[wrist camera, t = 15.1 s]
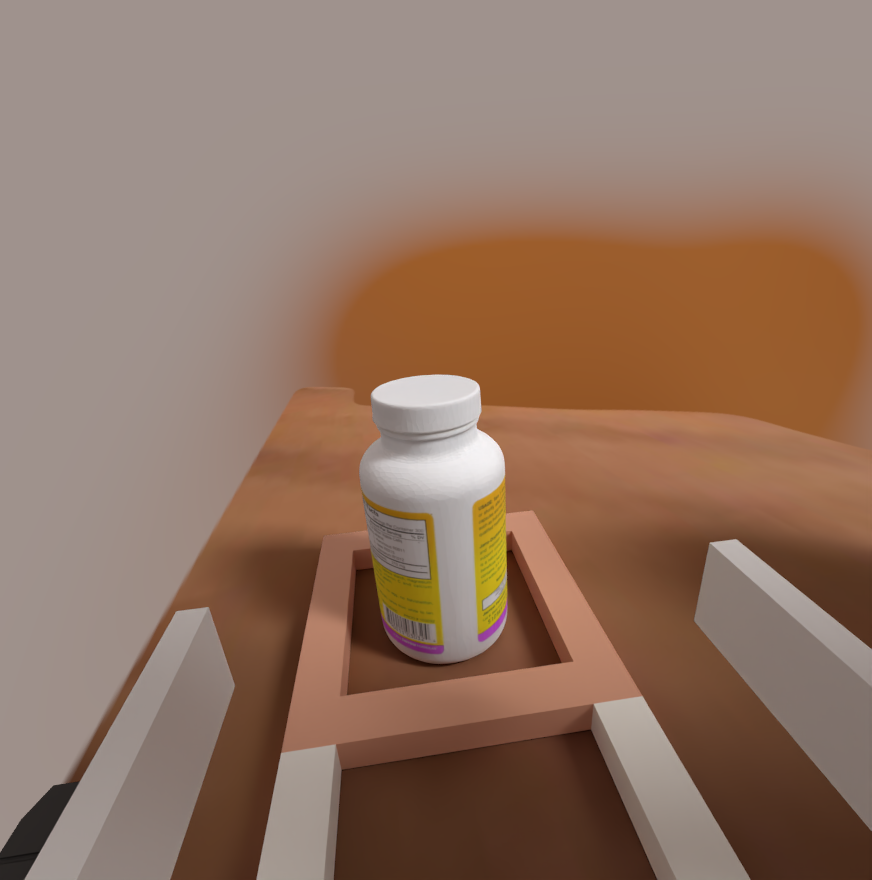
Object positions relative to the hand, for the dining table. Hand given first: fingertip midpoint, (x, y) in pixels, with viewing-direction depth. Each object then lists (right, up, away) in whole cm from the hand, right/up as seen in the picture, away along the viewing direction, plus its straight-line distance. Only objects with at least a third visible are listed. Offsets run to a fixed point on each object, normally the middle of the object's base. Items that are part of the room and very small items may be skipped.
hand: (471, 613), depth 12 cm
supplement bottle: (0, -5, +12) cm, 13 cm away
